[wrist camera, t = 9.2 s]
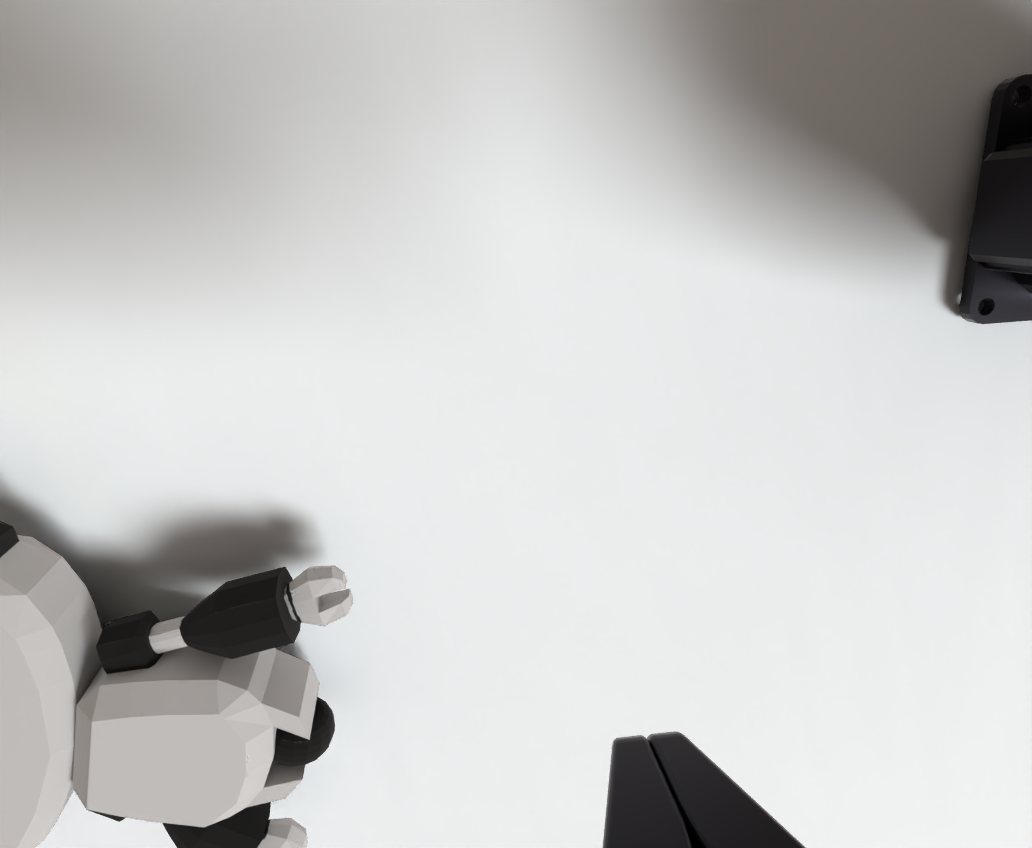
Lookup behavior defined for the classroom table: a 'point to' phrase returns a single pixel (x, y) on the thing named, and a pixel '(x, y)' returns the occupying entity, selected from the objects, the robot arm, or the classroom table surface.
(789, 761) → the classroom table surface
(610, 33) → the classroom table surface
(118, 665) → the robot toy
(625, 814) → the robot arm
